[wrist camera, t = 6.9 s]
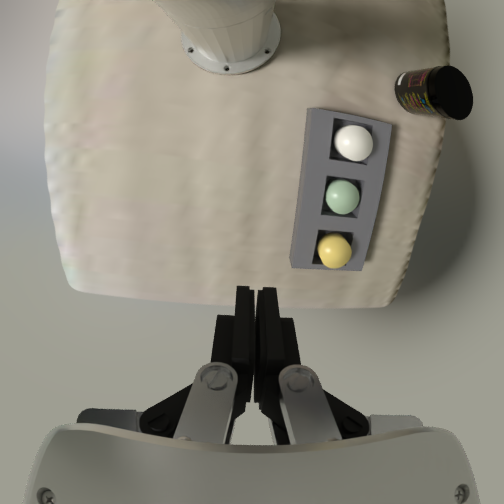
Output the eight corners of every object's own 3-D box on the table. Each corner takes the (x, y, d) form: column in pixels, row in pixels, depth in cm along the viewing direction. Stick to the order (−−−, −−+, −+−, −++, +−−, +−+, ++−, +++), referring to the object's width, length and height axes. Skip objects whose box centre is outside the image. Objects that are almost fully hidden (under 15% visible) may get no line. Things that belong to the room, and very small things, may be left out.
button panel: (307, 108, 31) (312, 107, 29) (382, 123, 32) (392, 124, 29) (289, 257, 42) (291, 267, 39) (355, 261, 42) (361, 271, 39)
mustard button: (319, 231, 37) (324, 238, 35) (349, 233, 37) (354, 241, 35) (314, 258, 39) (318, 267, 37) (342, 260, 39) (347, 269, 37)
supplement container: (420, 123, 31) (464, 131, 22) (386, 98, 30) (427, 97, 21) (433, 88, 28) (478, 89, 19) (400, 63, 27) (442, 54, 18)
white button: (335, 121, 30) (341, 122, 28) (366, 128, 30) (374, 129, 28) (331, 155, 32) (337, 158, 30) (362, 160, 32) (370, 163, 30)
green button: (325, 175, 35) (330, 180, 33) (355, 180, 35) (361, 184, 33) (321, 206, 37) (325, 212, 35) (350, 209, 37) (355, 215, 35)
